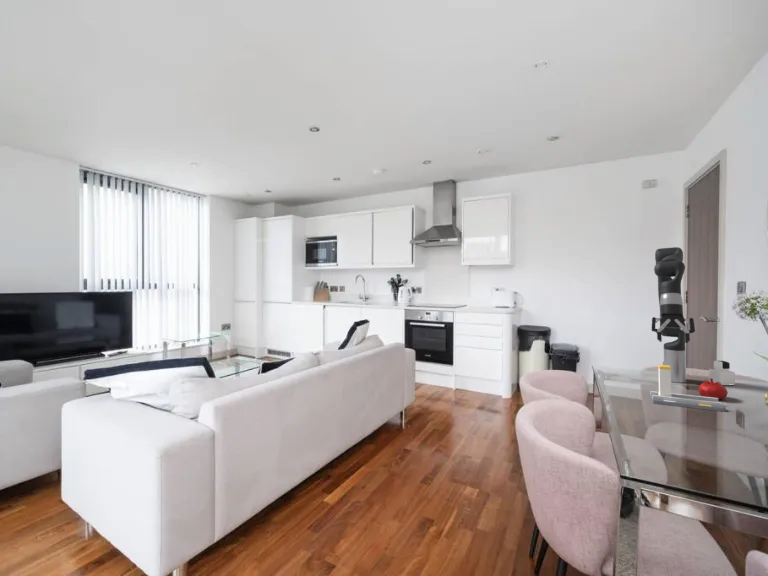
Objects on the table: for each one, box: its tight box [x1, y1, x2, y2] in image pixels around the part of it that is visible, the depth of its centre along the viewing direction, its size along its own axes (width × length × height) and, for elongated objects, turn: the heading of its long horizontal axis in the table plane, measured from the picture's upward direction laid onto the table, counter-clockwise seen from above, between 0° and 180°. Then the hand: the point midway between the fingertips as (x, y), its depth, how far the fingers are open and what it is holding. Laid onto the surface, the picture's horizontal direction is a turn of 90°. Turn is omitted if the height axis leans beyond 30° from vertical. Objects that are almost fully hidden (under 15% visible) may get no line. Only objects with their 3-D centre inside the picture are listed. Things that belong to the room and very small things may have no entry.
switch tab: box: [657, 364, 672, 397], centre depth 163 cm, size 4×5×15 cm
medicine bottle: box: [708, 360, 736, 385], centre depth 185 cm, size 7×7×12 cm
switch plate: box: [649, 390, 725, 413], centre depth 159 cm, size 24×11×3 cm, turn 59°
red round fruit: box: [697, 378, 728, 401], centre depth 165 cm, size 10×10×9 cm
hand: (673, 342), depth 149 cm, fingers open, 8 cm apart
